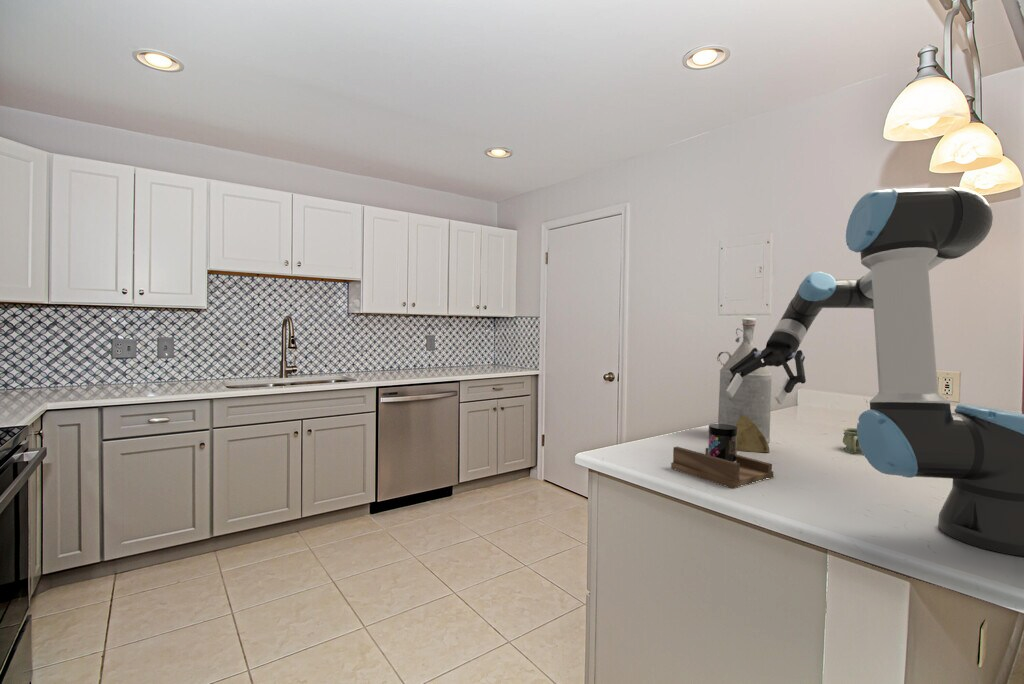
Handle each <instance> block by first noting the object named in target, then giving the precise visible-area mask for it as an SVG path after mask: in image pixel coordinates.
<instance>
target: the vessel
mask: <svg viewBox="0 0 1024 684" xmlns="http://www.w3.org/2000/svg"><path fill="white" fill-rule="evenodd" d="M843 431H844V432H843V438H842V443H843V445H845V448H844V451H845V452H848V453H850V454H856V455H862V456H864V454H863V452H862V450H861V448H860V445H859V441H858V436H857V427H847V428H846V427H845V428H843Z"/></svg>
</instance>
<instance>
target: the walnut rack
mask: <svg viewBox="0 0 1024 684" xmlns="http://www.w3.org/2000/svg"><path fill="white" fill-rule="evenodd" d="M672 448H673V449H672V450H673V451H672V452H673V453H672V454H673V456H672V458H673V459H672V462H670V464H671V465H670V468H672V470H674V469H676V470H675V471H677V470H679V471H678V472H680V471H682V472H681V473H683V472H685V473H684V474H686V473H688V474H687V475H690V474H691V475H690V476H693V475H694V476H693V477H696V476H697V477H696V478H699V477H700V478H699V479H702V478H703V479H702V480H705V479H706V481H708V480H709V481H708V482H711V481H713V482H712V483H714V482H716V483H715V484H717V483H719V484H718V485H720V484H722V485H721V486H723V485H726V486H725V487H727V486H728V487H727V488H730V487H732V488H731V489H733V488H734V489H736V488H735V487H737V488H739V487H738V486H741V485H745V484H748V485H750V484H749V483H752V482H755V483H757V482H756V481H759V480H762V481H764V480H763V479H766V478H770V479H772V478H771V477H773V478H774V473H775V472H774V471H772V470H773V464H772V463H770V462H766V461H762V460H758V459H754V458H750V457H747V456H743V455H739V454H736V462H732V461H728V460H725V459H721V458H717V457H714V456H710V455H708V447H706V448H705V453H702V452H698V451H695V450H691V449H689V448H688V449H687V448H685V447H680V446H674V447H672ZM766 480H767V479H766ZM759 482H760V481H759ZM752 484H753V483H752ZM745 486H746V485H745ZM741 487H742V486H741Z"/></svg>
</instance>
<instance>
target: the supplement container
mask: <svg viewBox="0 0 1024 684" xmlns="http://www.w3.org/2000/svg"><path fill="white" fill-rule="evenodd" d="M707 431H708V443H707V444H708V445H707V448H708V455H710V456H714V457H717V458H721V459H725V460H728V461H732V462H736V455H738V454H737V451H738V450H737V427H736V426H733V425H728V424H718V423H710V424H708V430H707Z"/></svg>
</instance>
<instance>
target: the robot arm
mask: <svg viewBox="0 0 1024 684" xmlns="http://www.w3.org/2000/svg"><path fill="white" fill-rule="evenodd" d="M993 220H994V219H993V210H992V208H991V206H990V204H989V203H988V201H987V200H986V198H985V197H983V196H982V195H981V194H979V193H978V192H976V191H975V190H971V189H968V188H965V187H958V186H947V187H929V188H928V187H925V188H924V187H922V188H919V187H918V188H894V187H893V188H888V189H880V190H878V189H877V190H872V191H869V192H867V193H865V194H864V195H863V196H862V197H860V198H859V200H858V201H857V202H856V203H855V206H854V207H853V209H852V211H851V213H850V214H849V218H848V220H847V225H846V230H845V242H846V246H847V247H848V250H850V251H851V252H854V253H856V254H857V253H860V263H861V265H862V266H864V267H865V268H867V269H868V270H870V271H868V272H867V273H865V274H864V275H863V276H862V277H860V278H859V279H835V278H834V277H833V276H832V275H831V274H829V273H825V272H823V271H814V272H811V273H809V274H807V275H806V276H805V277H804V279H803V280H802V281H801V283H800V284H799V286H798V288H797V291H796V292H795V295H794V297H793V298H792V299H791V300H790V302H789V303H788V304H787V307H786V309H785V311H784V312H783V314H782V317H781V318H780V320H779V321H778V323H777V325H776V326H775V328H774V329H773V331H772V334H771V335H770V336H769V338H768V340H767V341H766V344H765V348H764V349H763V350H758V349H757V348H753V349H752V351H751V352H750V353H749V354H748V355H747V356H745V357H744V358H743V359H741V360H740V361H739V362H738V363H736V364H735V365H734V366H732V367H731V368H730V369H729V370H730V372H731V373H732V375H733V376H732V378H731V380H730V385H729V387H728V388H727V390H726V391H727V393H728V394H729V396H730V397H733V396H734V394H735V393H736V391H737V389H738V388H739V386H740V384H741V382H742V381H743V379H742V377H744V376H746V375H748V374H749V373H751V372H753V371H755V370H757V369H759V368H760V367H762V368H763V367H765V366H767V367H780V366H783V367H782V368H783V370H784V371H785V373H786V375H787V377H784V379H783V381H782V382H781V384H780V386H779V388H778V390H777V391H776V393H775V395H774V398H775V400H776V402H777V403H778V404H779V405H783V402H784V400H785V398H786V397H787V395H788V394H791V392H792V391H793V390H794V387H795V386H796V385H797V384H798V383H799V384H800V383H801V384H805V383H806V382H807V379H806V374H805V367H804V361H805V359H806V357H805V355H804V353H803V351H802V350H801V349H799V348H800V345H801V343H802V341H803V340H804V338H805V336H806V335H807V333H808V331H809V329H810V327H811V325H813V322H814V320H815V319H816V317H817V316H818V315H819V313H820V312H821V311H822V310H823V309H872V310H873V319H874V320H873V321H874V334H875V335H874V337H875V354H876V355H875V356H876V367H877V382H878V383H877V384H878V392H877V394H876V395H875V396H874V397H872V398H871V400H869V409H866V410H865V411H863V412H861V414H859V416H858V422H857V424H856V428H857V436H858V441H859V445H860V448H861V450H862V452H863V454H864V455H863V456H864V457H865V459H866V460H867V462H868V463H869V465H870V466H872V468H873V469H875V470H876V471H878V472H879V473H881V474H885V475H888V476H890V475H891V476H899V477H904V478H910V479H911V478H916V477H917V478H932V479H933V478H935V479H952V485H951V489H950V492H949V494H948V496H947V498H946V499H945V501H944V503H943V506H942V507H941V509H940V511H939V514H938V518H937V519H938V523H937V524H938V525H937V527H938V528H939V529H940V531H942V532H943V533H944V534H946V535H948V536H949V537H951V538H953V539H956V540H958V541H959V542H963V543H965V544H969V545H972V546H975V547H978V548H980V549H984V550H985V549H986V550H989V551H992V552H996V553H997V552H998V553H1002V554H1006V555H1007V554H1008V555H1013V556H1020V557H1024V413H1019V412H1014V411H1009V410H1003V409H997V408H992V407H985V406H979V405H972V404H957V405H956V406H955V407H956V408H955V409H954V411H953V412H952V409H951V401H949V400H948V399H947V398H946V397H944V396H942V395H941V394H940V392H939V388H938V387H939V386H938V375H937V362H936V349H935V339H934V338H935V336H934V325H933V311H932V302H931V301H932V300H931V288H930V287H931V285H930V275H929V272H930V271H931V270H933V269H934V268H936V267H937V266H939V265H940V264H943V262H945V261H947V260H956V259H958V258H960V257H961V258H962V257H963V256H965V255H966V254H967V253H970V252H971V251H972V250H974V249H976V247H978V246H979V245H980V244H981V243H982V242H983V241H984V240H985V239H986V238H987V236H988V234H989V233H990V230H991V229H992V226H993ZM761 359H763V361H764V363H762V361H761ZM793 359H794V362H795V363H794V364H795V369H796V375H794V373H793V371H792V369H791V368H790V366H789V364H788V362H789V361H791V360H793ZM740 372H741V374H740Z"/></svg>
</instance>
